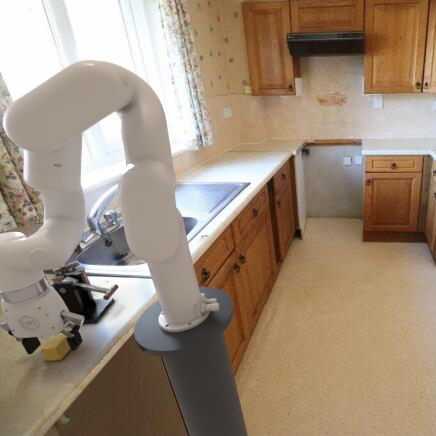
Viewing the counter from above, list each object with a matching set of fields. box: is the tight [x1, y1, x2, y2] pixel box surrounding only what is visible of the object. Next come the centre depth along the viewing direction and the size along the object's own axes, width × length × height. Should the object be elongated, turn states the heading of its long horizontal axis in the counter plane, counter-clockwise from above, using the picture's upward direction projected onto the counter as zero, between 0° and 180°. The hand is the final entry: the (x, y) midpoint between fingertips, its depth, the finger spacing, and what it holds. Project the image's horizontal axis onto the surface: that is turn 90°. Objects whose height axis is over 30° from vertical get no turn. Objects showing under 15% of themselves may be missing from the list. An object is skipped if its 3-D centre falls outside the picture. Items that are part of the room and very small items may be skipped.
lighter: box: [50, 260, 92, 285], centre depth 96 cm, size 8×3×10 cm, turn 129°
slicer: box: [52, 272, 115, 325], centre depth 87 cm, size 12×9×12 cm
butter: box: [40, 333, 71, 362], centre depth 76 cm, size 4×3×4 cm
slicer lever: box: [62, 277, 119, 300], centre depth 86 cm, size 12×5×2 cm, turn 95°
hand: (56, 347), depth 76 cm, fingers open, 9 cm apart
